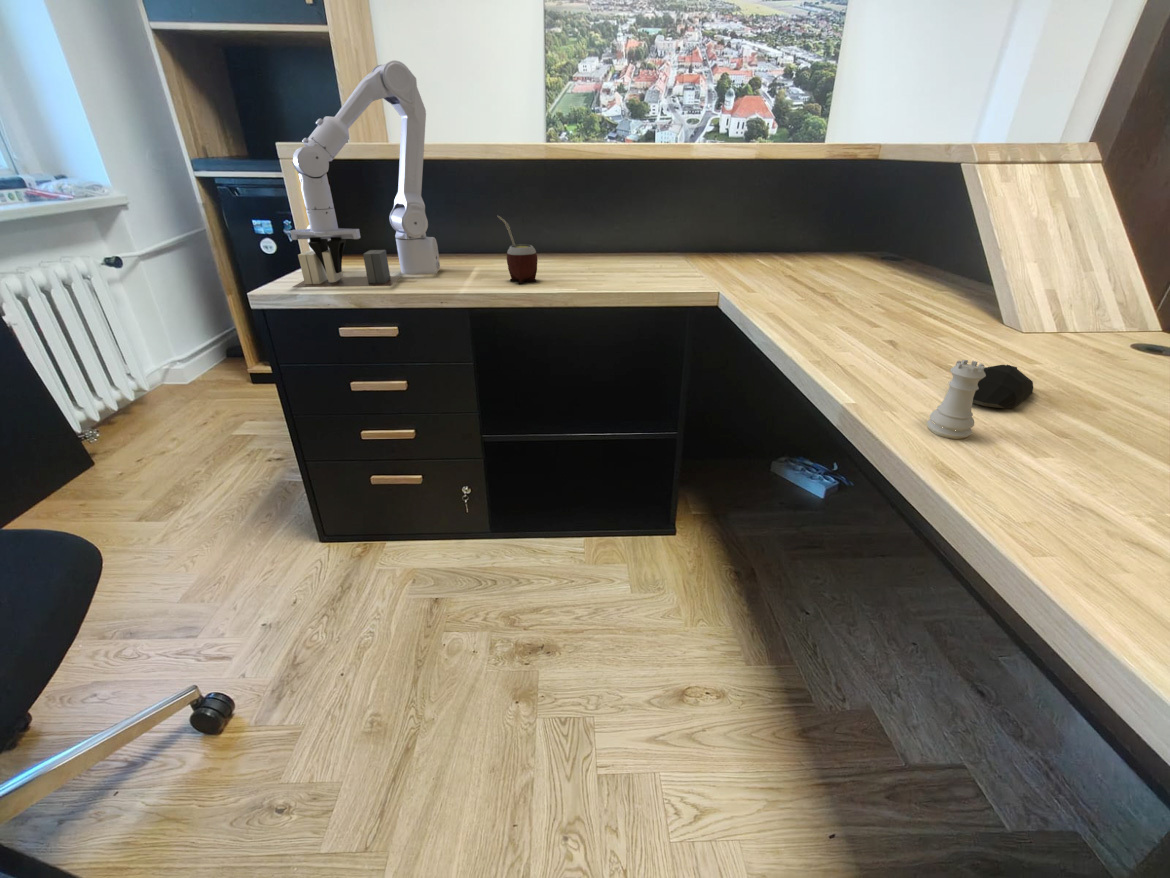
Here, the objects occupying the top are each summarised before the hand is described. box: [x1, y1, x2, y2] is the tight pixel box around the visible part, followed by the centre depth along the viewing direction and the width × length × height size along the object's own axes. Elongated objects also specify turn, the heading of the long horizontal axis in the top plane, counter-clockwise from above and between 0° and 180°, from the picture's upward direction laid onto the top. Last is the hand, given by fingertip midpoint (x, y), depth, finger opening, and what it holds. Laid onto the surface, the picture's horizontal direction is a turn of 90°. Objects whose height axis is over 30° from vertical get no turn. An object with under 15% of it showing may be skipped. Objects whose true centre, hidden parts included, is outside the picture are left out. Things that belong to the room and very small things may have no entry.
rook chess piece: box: [926, 359, 986, 440], centre depth 60 cm, size 4×4×8 cm
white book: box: [322, 249, 344, 282], centre depth 127 cm, size 2×5×6 cm, turn 2°
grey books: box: [362, 249, 391, 283], centre depth 127 cm, size 4×5×6 cm
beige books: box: [297, 250, 328, 284], centre depth 127 cm, size 3×5×6 cm
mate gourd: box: [496, 215, 538, 285], centre depth 127 cm, size 8×8×15 cm
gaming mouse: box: [972, 364, 1034, 409], centre depth 71 cm, size 6×15×4 cm, turn 126°
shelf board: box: [292, 275, 403, 288], centre depth 129 cm, size 22×10×1 cm, turn 92°
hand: (333, 272), depth 127 cm, fingers closed on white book, 2 cm apart
